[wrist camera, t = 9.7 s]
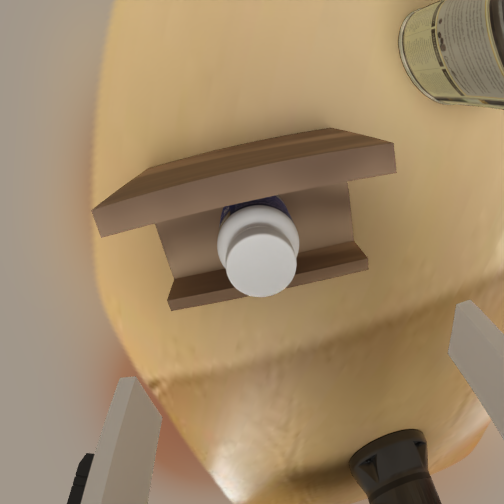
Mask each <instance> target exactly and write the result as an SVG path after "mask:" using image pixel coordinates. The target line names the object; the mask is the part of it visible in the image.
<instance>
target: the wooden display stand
mask: <svg viewBox="0 0 504 504" xmlns="http://www.w3.org/2000/svg"><path fill="white" fill-rule="evenodd" d="M393 173H396V162H395V153H394V144H393V143H391V142H388V141H384V140H380V139H376V138H373V137H369V136H365V135H360V134H356V133H352V132H348V131H343V130H339V129H334V128H326V129H320V130H314V131H308V132H302V133H296V134H291V135H285V136H280V137H275V138H270V139H265V140H260V141H255V142H251V143H246V144H241V145H237V146H233V147H228V148H224V149H220V150H216V151H211V152H207V153H203V154H199V155H195V156H192V157H188V158H184V159H180V160H177V161H173V162H169V163H166V164H162V165H159V166H155V167H152V168H149V169H147V170H145V171H144V172H142V173H141V174H140V175H138V176H137V177H135V178H134V179H133V180H131V181H130V182H128V183H127V184H126V185H124V186H123V187H122V188H120V189H119V190H117V191H116V192H115V193H113V194H112V195H111V196H109V197H108V198H107V199H105V200H104V201H103V202H102V203H100V204H99V205H98V206H96V207H95V208H94V209H93V210H91V211H92V214H93V216H94V219H95V222H96V225H97V227H98V230H99V233H100V235H101V238H102V237H106V236H109V235H113V234H117V233H120V232H124V231H128V230H132V229H135V228H139V227H143V226H147V225H151V224H155V225H156V228H157V231H158V234H159V237H160V240H161V243H162V246H163V249H164V251H165V254H166V257H167V260H168V263H169V266H170V269H171V271H172V274H173V277H174V282H173V285H172V288H171V291H170V294H169V297H168V300H167V301H168V304H169V306H170V309H171V311H173V310H179V309H184V308H190V307H195V306H200V305H206V304H211V303H216V302H221V301H226V300H231V299H236V298H241V297H246V296H249V295H246V294H244V293H242V292H240V291H239V290H237V289H236V288H235V287H234V286H233V285H232V283H231V282H230V280H229V278H228V276H227V273H226V269H225V268H224V266H223V265H222V263H221V261H220V258H219V255H218V250H217V239H218V232H219V225H220V219H221V213H222V209H223V207H225V206H229V205H234V204H238V203H243V202H247V201H252V200H256V199H261V198H266V197H270V196H275V195H279V196H280V197H281V199H282V200H283V202H284V203H285V205H286V208H287V210H288V212H289V214H290V216H291V218H292V220H293V222H294V224H295V227H296V229H297V232H298V236H299V251H298V255H297V258H296V261H297V267H296V272H295V275H294V277H293V279H292V281H291V282H290V284H289V285H288V286H287V287H286V288H289V287H294V286H298V285H303V284H308V283H312V282H316V281H321V280H325V279H330V278H334V277H338V276H343V275H347V274H351V273H355V272H360V271H364V270H368V258H367V257H366V255H365V254H364V253H363V252H362V250H361V249H360V248H359V247H358V245H357V244H356V243H355V242H354V237H353V227H352V217H351V208H350V199H349V191H348V183H347V181H352V180H358V179H363V178H369V177H375V176H381V175H387V174H393Z"/></svg>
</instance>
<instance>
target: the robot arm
mask: <svg viewBox="0 0 504 504" xmlns="http://www.w3.org/2000/svg"><path fill="white" fill-rule="evenodd" d="M448 355H449V356H450V357H451V359H452V360H453V362H454V363H455V365H456V366H457V367H458V369H459V370H460V372H461V373H462V375H463V376H464V378H465V379H466V381H467V382H468V384H469V385H470V387H471V388H472V390H473V391H474V393H475V394H476V396H477V397H478V399H479V400H480V402H481V403H482V405H483V407H484V408H485V410H486V411H487V413H488V415H489V416H490V418H491V419H492V421H493V423H494V424H495V426H496V428H497V429H498V431H499V433H500V434H501V436H502V438H503V439H504V334H503V333H502V332H501V331H500V330H499V329H498V328H497V327H496V325H495V324H494V323H493V322H492V321H491V320H490V319H489V318H488V317H487V316H486V315H485V314H484V313H483V312H482V311H481V310H480V309H479V308H478V307H477V306H476V305H475V304H474V303H473V302H472V301H471V300H467V301H464V302H462V303H459V304H456V309H455V316H454V322H453V328H452V334H451V339H450V344H449V349H448ZM161 422H162V416H161V415H160V413H159V412H158V410H157V409H156V407H155V406H154V404H153V403H152V401H151V400H150V398H149V396H148V395H147V393H146V392H145V390H144V389H143V387H142V386H141V384H140V382H139V381H138V379H137V377H126V378H120V380H119V382H118V385H117V388H116V391H115V394H114V396H113V400H112V402H111V405H110V408H109V411H108V414H107V417H106V420H105V423H104V426H103V429H102V432H101V435H100V439H99V442H98V445H97V448H96V451H95V454H89V453H87V454H86V455H85V456H84V458H83V459H82V460H81V462H80V463H79V466H78V469H77V472H76V477H75V478H74V482H73V486H72V488H71V492H70V495H69V499H68V502H67V504H148V498H149V491H150V485H151V479H152V473H153V467H154V461H155V455H156V449H157V444H158V438H159V433H160V427H161ZM349 466H350V470H351V474H352V476H353V477H354V479H355V480H356V481H357V483H358V484H359V485H360V487H361V488H362V489H363V491H364V492H365V493H366V494H367V496H368V499H369V503H370V504H441V502H440V499H439V496H438V494H437V491H436V489H435V486H434V484H433V481H432V479H431V476H430V474H429V471H428V455H427V442H426V440H425V437H424V435H423V433H422V432H421V431H418V430H404V431H399V432H396V433H392V434H389V435H387V436H384V437H382V438H379V439H377V440H375V441H373V442H371V443H370V444H368V445H366V446H365V447H363V448H362V449H360V450H359V451H358V452H357V453H356V454H355V455H354V456H353V457H352V458H351V460H350V462H349Z"/></svg>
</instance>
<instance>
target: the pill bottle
mask: <svg viewBox="0 0 504 504" xmlns="http://www.w3.org/2000/svg"><path fill="white" fill-rule="evenodd" d="M217 250H218V255H219V258H220V261H221V263H222V265H223V266H224V268H225V269H226V273H227V276H228V278H229V280H230V282H231V283H232V285H233V286H234V287H235V288H236V289H237V290H239V291H240V292H242V293H244V294H246V295H249V296H253V297H267V296H272V295H274V294H277V293H279V292H280V291H282V290H284V289H285V288H286V287H287V286H288V285H289V284H290V282H291V281H292V279H293V277H294V275H295V272H296V267H297V261H296V258H297V255H298V251H299V236H298V232H297V229H296V227H295V224H294V222H293V220H292V218H291V216H290V214H289V212H288V210H287V208H286V205H285V203H284V202H283V200H282V199H281V197H280V196H279V195H275V196H270V197H266V198H261V199H256V200H252V201H247V202H243V203H238V204H234V205H229V206H225V207H223V209H222V213H221V219H220V225H219V232H218V239H217Z"/></svg>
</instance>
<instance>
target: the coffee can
mask: <svg viewBox="0 0 504 504" xmlns="http://www.w3.org/2000/svg"><path fill="white" fill-rule="evenodd" d="M398 43H399V50H400V56H401V60H402V62H403V65H404V68H405V70H406V72H407V74H408V75H409V77H410V78H411V80H412V82H413V83H414V84H415V85H416V86H417V87H418V89H419V90H420V91H421V92H422V93H424V94H425V95H426V96H427V97H429V98H430V99H432V100H434V101H436V102H438V103H441V104H446V105H468V106H478V107H488V108H496V109H503V110H504V0H441V1H438V2H436V3H433V4H431V5H429V6H426V7H424V8H421V9H418V10H416V11H414V12H412V13H410V14H409V15H408V16H407V17H406V19H405V20H404V22H403V24H402V26H401V29H400V33H399V42H398Z"/></svg>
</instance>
